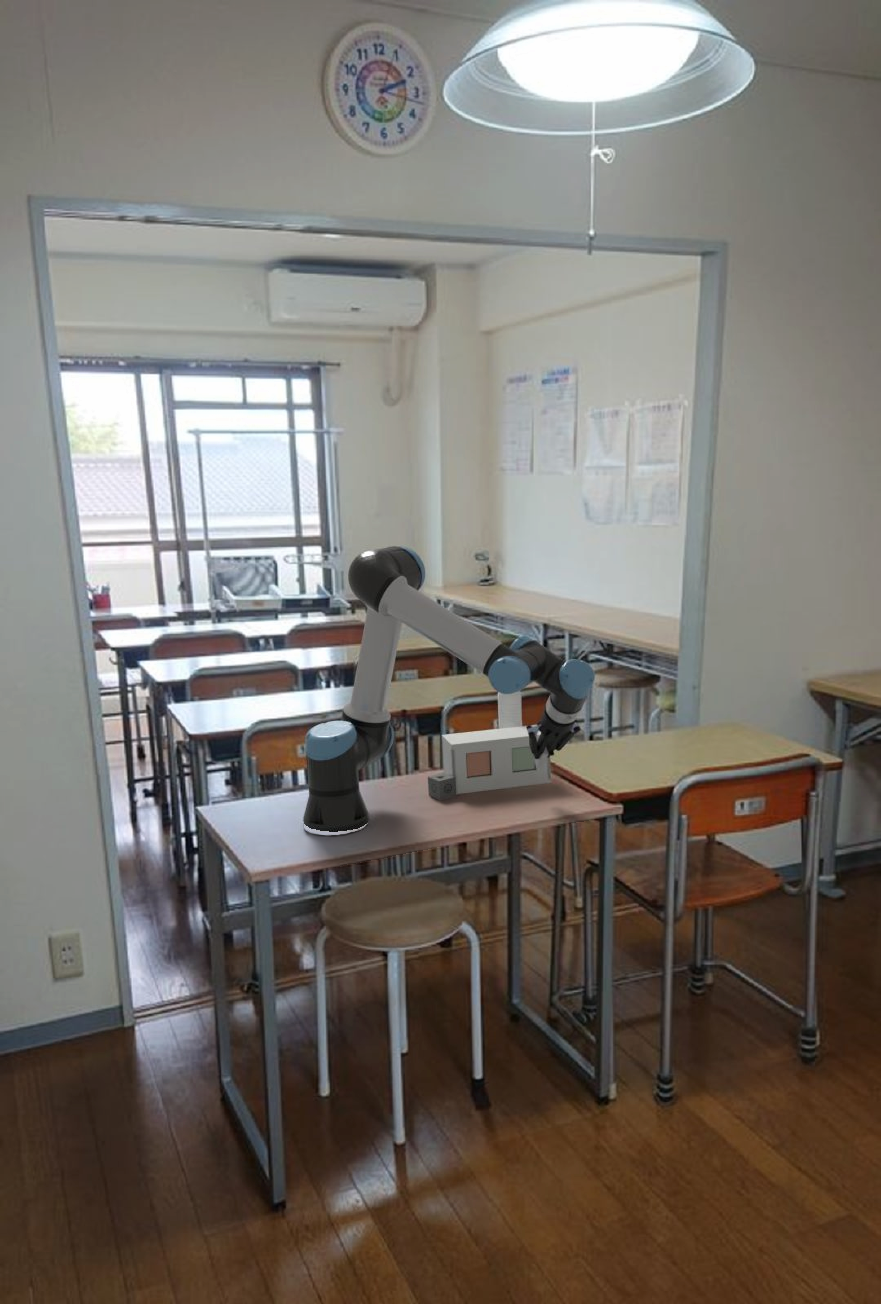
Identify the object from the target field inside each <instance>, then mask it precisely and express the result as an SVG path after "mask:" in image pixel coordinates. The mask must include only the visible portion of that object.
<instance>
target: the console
mask: <svg viewBox="0 0 881 1304" xmlns="http://www.w3.org/2000/svg"><path fill="white" fill-rule="evenodd" d="M527 726H528V725H522V726H520V727H511V728H502V729H499V728H495V729H494V728H493V729H492V728H491V729H486V730H476V731H467V732H457V733H448V734H447V733H446V734H441V743H442V744H441V746H442V747H441V748H442V763H443V764H442V766H443V767H442V768H443V773H446V774H449V775H452V776H454V777H456V795H461V794H470V793H478V792H485V791H491V790H492V791H494V790H501V789H509V788H516V787H517V788H518V787H519V788H520V787H526V786H534V785H535V786H536V785H540V784H541V785H542V784H550V783H552V774H551V773H552V772H551V756H550V757H549V758H546V760H545V763H544V765H543V767H541V768H536V765H535V769H528V770H520V771H512V748H519V747H528V746H530V745H529V735H528V732H527V728H526V727H527ZM531 726H532V727H535V726H537V724H532V725H531ZM540 734H541V732H540V731H538V733H537V736H536V738H537V741H538V739H539V736H540ZM483 751H489V753H490V774H486V775H478V776H469V777H467V764H466V753H475V752H483Z"/></svg>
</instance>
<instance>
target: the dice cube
mask: <svg viewBox="0 0 881 1304" xmlns="http://www.w3.org/2000/svg"><path fill="white" fill-rule="evenodd" d="M427 788H428V796H429V797H431V798H434V799H436V800H439V801H443V800H446V799H449V798H454V797H457V794H456V777H454V776H452V775H449V774H446V773H444V772H441V773H437V774H433V775H430V776H427Z"/></svg>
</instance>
